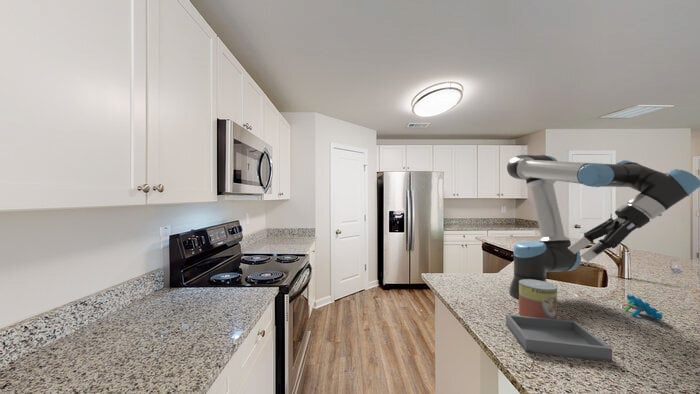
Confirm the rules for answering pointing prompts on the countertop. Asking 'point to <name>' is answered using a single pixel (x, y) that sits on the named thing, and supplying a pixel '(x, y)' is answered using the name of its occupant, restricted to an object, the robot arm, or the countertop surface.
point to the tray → (557, 338)
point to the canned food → (537, 299)
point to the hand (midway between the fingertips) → (576, 254)
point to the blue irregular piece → (641, 307)
